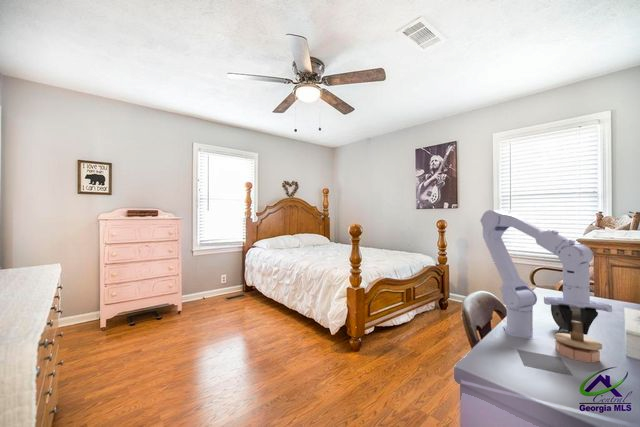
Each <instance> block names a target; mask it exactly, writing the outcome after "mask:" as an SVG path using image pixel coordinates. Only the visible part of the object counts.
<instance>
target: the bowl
mask: <svg viewBox="0 0 640 427" xmlns="http://www.w3.org/2000/svg"><path fill="white" fill-rule="evenodd" d="M554 342H555V345H554V346H555V348H554V349H556V351H557V352H558V353H559V354H560V355H563V356H564V357H568V358H570V359H572V360H575V361H580V362H587V363H595V362H596V363H597V362H601V358H600V357H601V353H600V350H589V349H583V348H578V347H574V346H570V345H567V344H564V343H561V342H559V341H557V340H556V339H555V340H554Z"/></svg>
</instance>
